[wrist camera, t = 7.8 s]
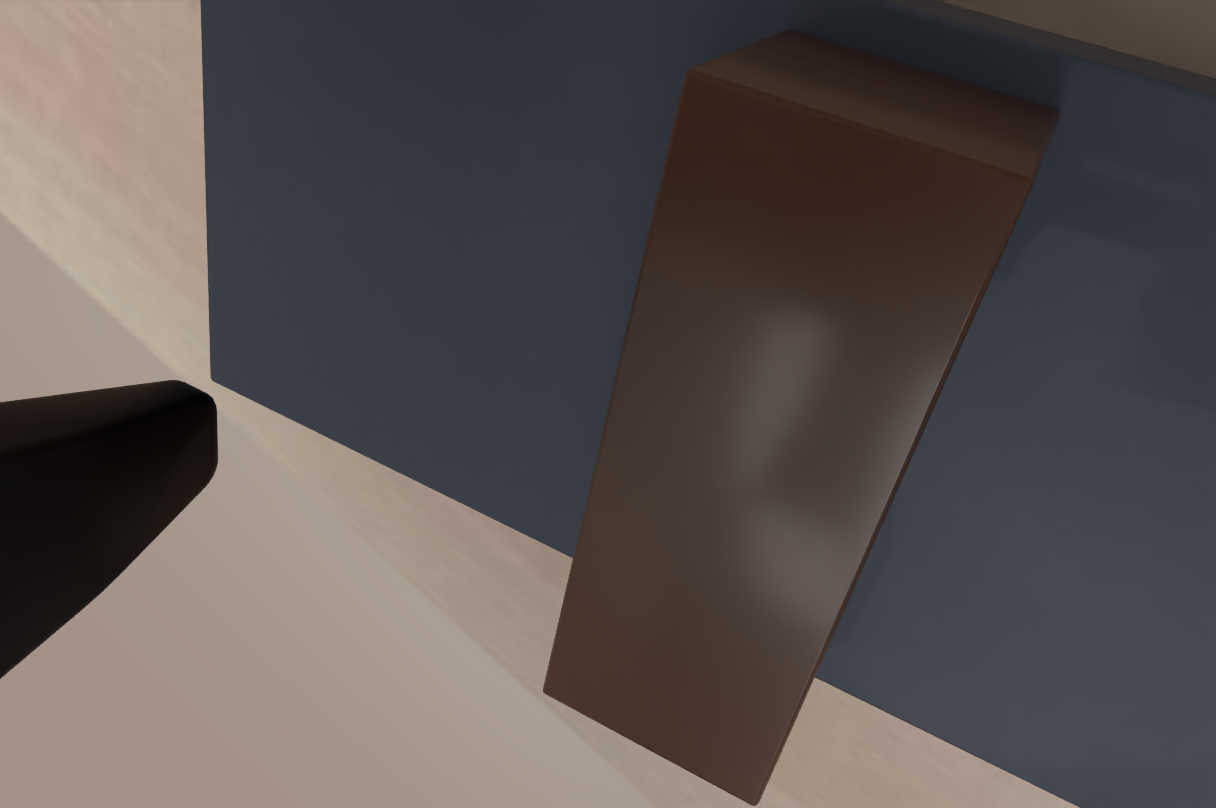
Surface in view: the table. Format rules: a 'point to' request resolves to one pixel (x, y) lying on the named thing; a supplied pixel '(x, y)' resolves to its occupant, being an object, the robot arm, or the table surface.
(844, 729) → the table surface
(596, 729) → the table surface
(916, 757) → the table surface
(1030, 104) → the block
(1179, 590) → the shelf
